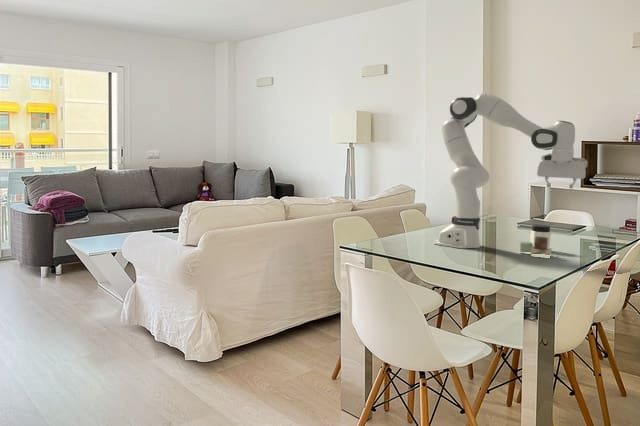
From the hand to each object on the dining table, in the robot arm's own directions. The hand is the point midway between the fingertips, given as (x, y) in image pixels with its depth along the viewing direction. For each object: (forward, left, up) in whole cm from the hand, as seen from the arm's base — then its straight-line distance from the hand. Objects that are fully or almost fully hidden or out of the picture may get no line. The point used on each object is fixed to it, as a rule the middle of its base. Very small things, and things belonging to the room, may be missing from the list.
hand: (559, 187), depth 251 cm
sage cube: (-12, -4, -31) cm, 34 cm away
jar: (-7, +8, -31) cm, 33 cm away
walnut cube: (-5, -8, -28) cm, 29 cm away
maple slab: (-5, -8, -32) cm, 33 cm away
